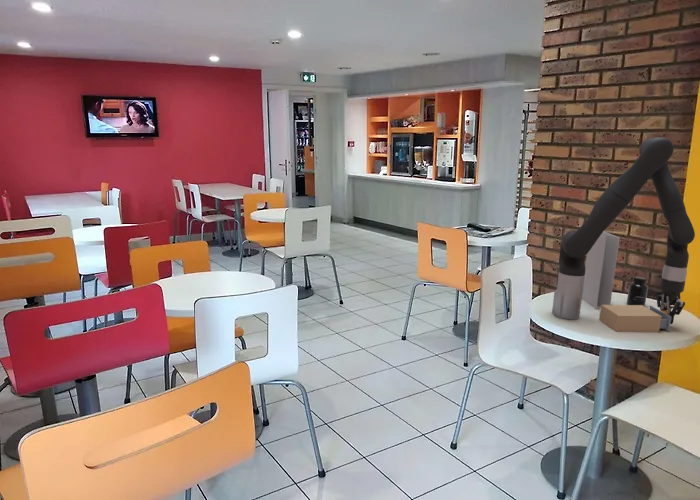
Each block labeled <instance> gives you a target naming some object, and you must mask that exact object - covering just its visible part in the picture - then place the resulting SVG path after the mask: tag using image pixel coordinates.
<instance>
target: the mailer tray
mask: <svg viewBox="0 0 700 500" xmlns="http://www.w3.org/2000/svg"><path fill="white" fill-rule="evenodd" d="M649 309H650V310H651V311H653V312H655V313H657V314H659V315H660V316H662V317H661V323H660V329H664V330H665V331H667V332H669V331H670V330H671V329H670V328H671V325H672V324H671V318H672V317H671V316H669V315H667V314H668V310H667V311H661V310H660V309H658V308H656V307H655V306H653V305H649Z"/></svg>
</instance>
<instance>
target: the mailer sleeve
mask: <svg viewBox="0 0 700 500" xmlns="http://www.w3.org/2000/svg"><path fill="white" fill-rule="evenodd" d="M661 317H662V316H660V315H659V314H657V313H655V312H653V311H651V310H650V308H648V307H646V306H643V305H628V304H610V305H601V306H600V311H599V318H598V319H599V321H600V322H602V323H604V324H605V325H606V326H607V327H610V329H612V330H613V331H615V332H631V333H632V332H639V333H640V332H642V333H646V332H647V333H649V332H650V333H656V332H657V333H658V332H659V333H660V329H661V328H660V323H661Z"/></svg>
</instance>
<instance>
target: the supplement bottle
mask: <svg viewBox="0 0 700 500" xmlns="http://www.w3.org/2000/svg"><path fill="white" fill-rule="evenodd" d="M647 280H648V278H647V277H644V276H637V275H636V276H633V280H632V282H631V283H630V284H629V285H628V286H629V287H628V293H627V299H626V305H643V306H644V307H646V302H647V296H648V290H649V286H648V285H647Z"/></svg>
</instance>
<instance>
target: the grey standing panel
mask: <svg viewBox="0 0 700 500" xmlns="http://www.w3.org/2000/svg"><path fill="white" fill-rule="evenodd" d="M620 241H621V238H620V236H617V235H614V234H611V233H609V232H608V231H605V230H604V231H603V233H602V234H601V235H600V237H599V238H598V239H597V241H596V242H595V244H594V245H593V247H592V248H591V249H590V251H589V252H588V253H587V254H586V257H585V268H586V270H585V278H584V285H583V293H582V300H583V301H584V302H585V303H586V304H588V305H589V306H591V307H592V308H594V309H595V310H597V309H598V308H597V307H598V306H599V307H601V305H611V302H612V295H613V288H614V281H615V273H616V268H617V259H618V253H619V252H618V251H619V246H620Z"/></svg>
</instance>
